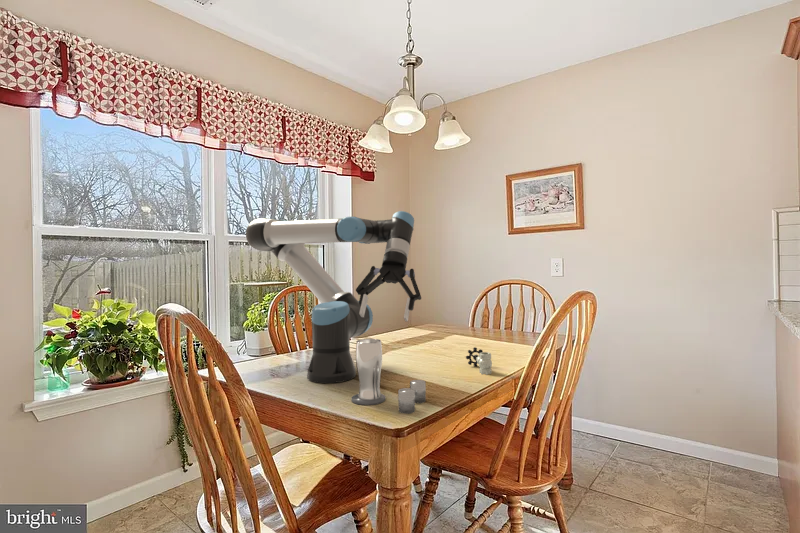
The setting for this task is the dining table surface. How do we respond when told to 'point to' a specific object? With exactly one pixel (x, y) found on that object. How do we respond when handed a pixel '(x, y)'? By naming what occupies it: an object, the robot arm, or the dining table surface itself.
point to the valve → (481, 360)
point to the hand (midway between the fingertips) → (383, 317)
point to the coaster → (362, 402)
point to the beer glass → (369, 368)
